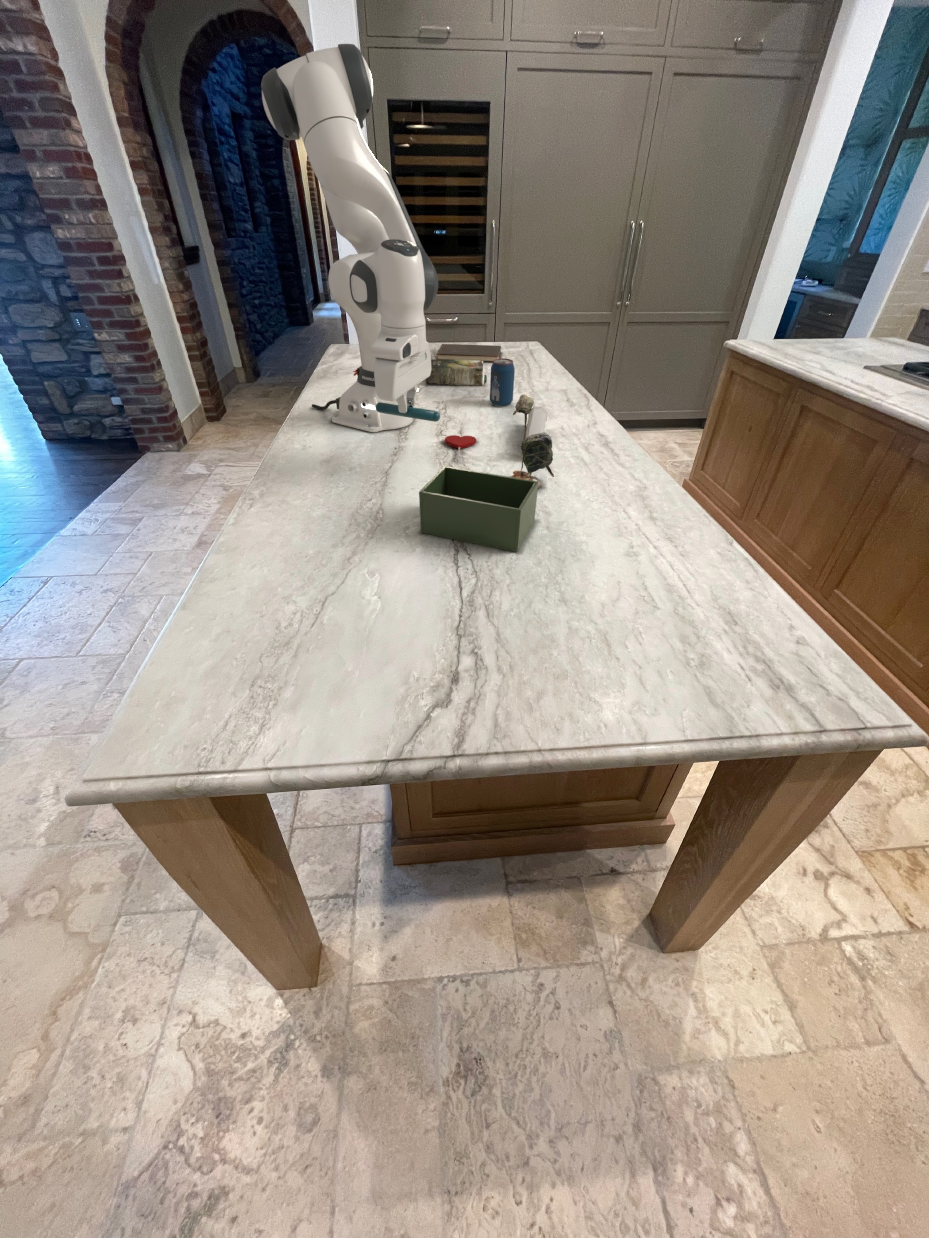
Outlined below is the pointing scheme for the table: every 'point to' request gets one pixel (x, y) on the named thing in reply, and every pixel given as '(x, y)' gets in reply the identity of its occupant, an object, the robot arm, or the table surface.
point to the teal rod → (408, 412)
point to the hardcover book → (469, 352)
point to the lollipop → (460, 442)
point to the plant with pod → (533, 446)
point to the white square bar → (536, 421)
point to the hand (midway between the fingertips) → (407, 409)
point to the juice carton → (457, 372)
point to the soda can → (502, 382)
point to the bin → (478, 507)
